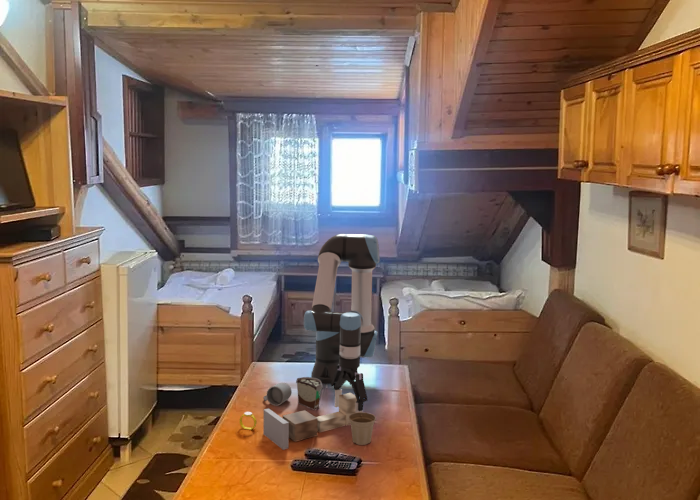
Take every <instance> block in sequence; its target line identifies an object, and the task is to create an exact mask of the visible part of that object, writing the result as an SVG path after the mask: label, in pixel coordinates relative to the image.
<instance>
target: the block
mask: <svg viewBox="0 0 700 500" xmlns="http://www.w3.org/2000/svg"><path fill="white" fill-rule="evenodd" d="M316 417H317V416H314V414H311V413H310V412H308V411H306V410H305V409H304V410H300V411H296V412H292V413H288V414H284V415H282V418H283V419H284V420H286V421H287V422H289V439H290V440H292V441H293V442H298V441H302V440H305V439H309V438H313V437H318V431H317V425H318V418H316Z"/></svg>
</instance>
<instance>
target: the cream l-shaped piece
mask: <svg viewBox="0 0 700 500" xmlns="http://www.w3.org/2000/svg"><path fill="white" fill-rule="evenodd" d="M356 401H357V399H356V396H355V394H354V393H352V392H348V393H342V395H339V407H338V411H335V412H332V413H327V414H323V415H319V416H315V417H316V418H318V425H317V432H319V433H322V432H326V431H330V430H333V429H338V428H341V427H345V425H346V427H347V425H348V426H351V425H350V424H351V423H350V420H349V419H348V417H349V415H350V414H353V413H355V405H356Z"/></svg>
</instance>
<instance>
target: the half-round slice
mask: <svg viewBox="0 0 700 500" xmlns="http://www.w3.org/2000/svg"><path fill="white" fill-rule="evenodd" d="M295 381H296V382H295V383H296V385H297V386H296V387H297V403H298V405H301V406H304V407H306V408H308V409H311V410H313V411H316V410H318V409H319V407H320V400H321V399H320V398H321V391H322V389H323V383H321V381H320V380H319V379H317V378H312V377H311V376H304V377H297V378H296V380H295Z"/></svg>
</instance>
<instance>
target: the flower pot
mask: <svg viewBox="0 0 700 500" xmlns="http://www.w3.org/2000/svg"><path fill="white" fill-rule="evenodd" d="M348 419H349V420H350V423H351V425H350V428H351V437H352V442H353V444H356V445H359V446H366V445H368V444H370V443H371V441H372V436H373V428H374V424H375V421H376V420H377V418H376V415H374V414H373V413H371V412H365V411H363V412H357V413H353V414H350V415H349V417H348Z"/></svg>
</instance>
